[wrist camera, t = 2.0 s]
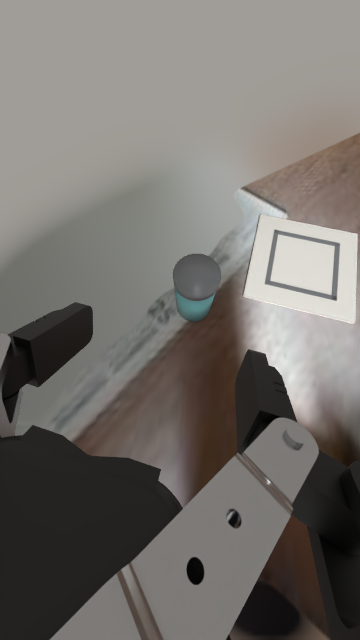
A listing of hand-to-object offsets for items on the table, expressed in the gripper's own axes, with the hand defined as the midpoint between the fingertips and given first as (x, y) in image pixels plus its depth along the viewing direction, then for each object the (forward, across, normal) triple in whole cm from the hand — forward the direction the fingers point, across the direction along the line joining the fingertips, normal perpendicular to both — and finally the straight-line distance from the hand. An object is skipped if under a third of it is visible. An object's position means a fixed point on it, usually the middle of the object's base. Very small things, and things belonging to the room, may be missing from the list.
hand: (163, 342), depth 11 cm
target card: (+24, -13, -2) cm, 27 cm away
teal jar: (+17, 0, +5) cm, 18 cm away
